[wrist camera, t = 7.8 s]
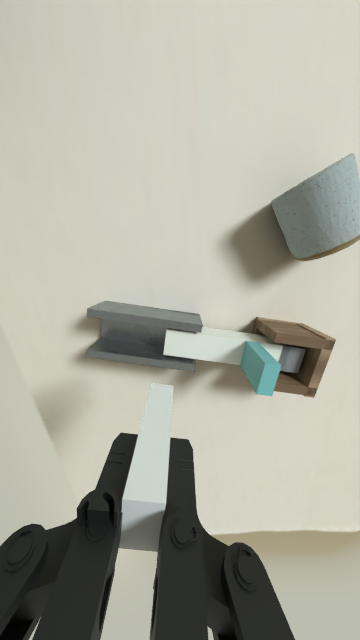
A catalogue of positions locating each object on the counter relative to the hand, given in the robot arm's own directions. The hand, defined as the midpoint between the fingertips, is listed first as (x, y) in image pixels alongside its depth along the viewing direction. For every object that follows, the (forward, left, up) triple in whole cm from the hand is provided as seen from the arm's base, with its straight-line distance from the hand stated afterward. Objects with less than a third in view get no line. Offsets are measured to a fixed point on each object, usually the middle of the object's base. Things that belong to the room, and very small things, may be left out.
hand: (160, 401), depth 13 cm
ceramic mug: (-18, +15, -17) cm, 29 cm away
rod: (+1, +8, -16) cm, 18 cm away
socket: (+1, +16, -17) cm, 23 cm away
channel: (+1, -3, -17) cm, 17 cm away
